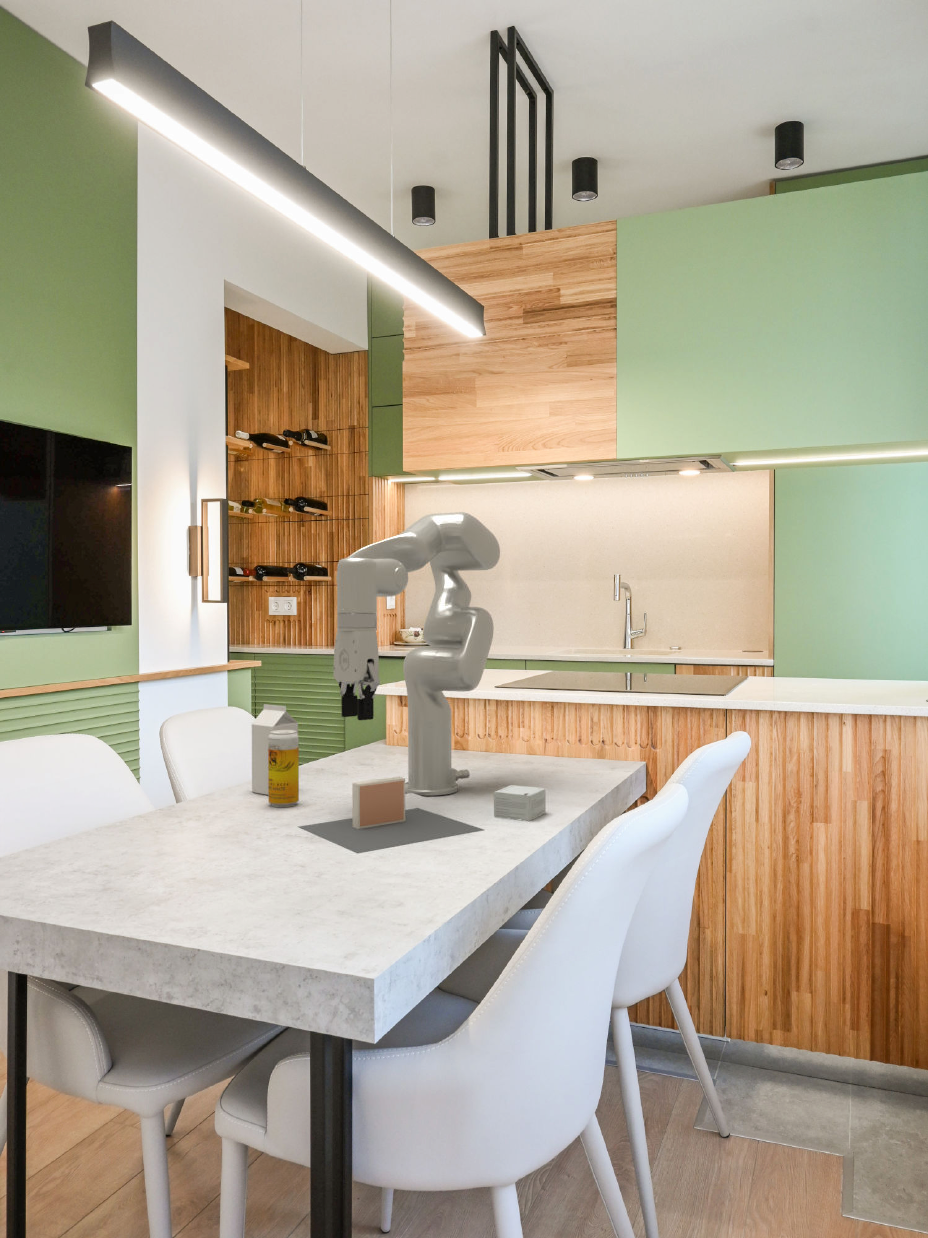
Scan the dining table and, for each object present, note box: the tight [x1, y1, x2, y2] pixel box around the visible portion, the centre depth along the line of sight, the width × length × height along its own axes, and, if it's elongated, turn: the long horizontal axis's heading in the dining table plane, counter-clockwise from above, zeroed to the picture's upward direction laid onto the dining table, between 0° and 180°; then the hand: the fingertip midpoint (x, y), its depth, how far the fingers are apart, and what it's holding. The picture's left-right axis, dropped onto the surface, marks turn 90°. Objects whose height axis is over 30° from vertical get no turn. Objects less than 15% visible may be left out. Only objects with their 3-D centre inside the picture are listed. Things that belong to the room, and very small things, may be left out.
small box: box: [493, 784, 547, 822], centre depth 177 cm, size 8×8×5 cm
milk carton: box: [251, 703, 299, 795], centre depth 199 cm, size 7×7×19 cm
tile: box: [351, 776, 406, 829], centre depth 167 cm, size 10×2×8 cm, turn 126°
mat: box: [298, 807, 485, 854], centre depth 164 cm, size 26×22×1 cm
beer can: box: [267, 730, 300, 808], centre depth 186 cm, size 6×6×15 cm
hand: (357, 717), depth 173 cm, fingers open, 5 cm apart
